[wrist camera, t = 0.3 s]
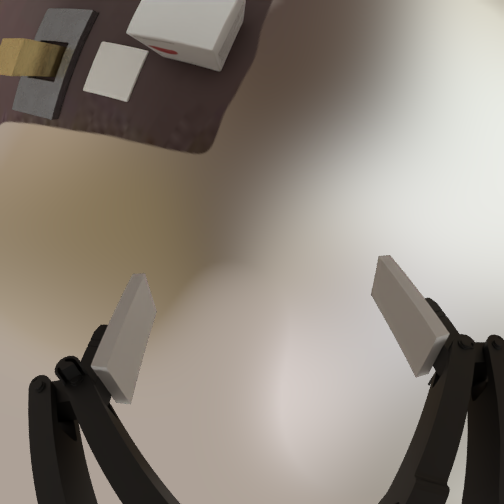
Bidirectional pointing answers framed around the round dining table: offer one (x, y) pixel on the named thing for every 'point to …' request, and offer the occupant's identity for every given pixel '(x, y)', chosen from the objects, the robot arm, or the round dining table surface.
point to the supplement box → (189, 29)
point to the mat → (115, 71)
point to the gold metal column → (29, 58)
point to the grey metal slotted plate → (53, 92)
